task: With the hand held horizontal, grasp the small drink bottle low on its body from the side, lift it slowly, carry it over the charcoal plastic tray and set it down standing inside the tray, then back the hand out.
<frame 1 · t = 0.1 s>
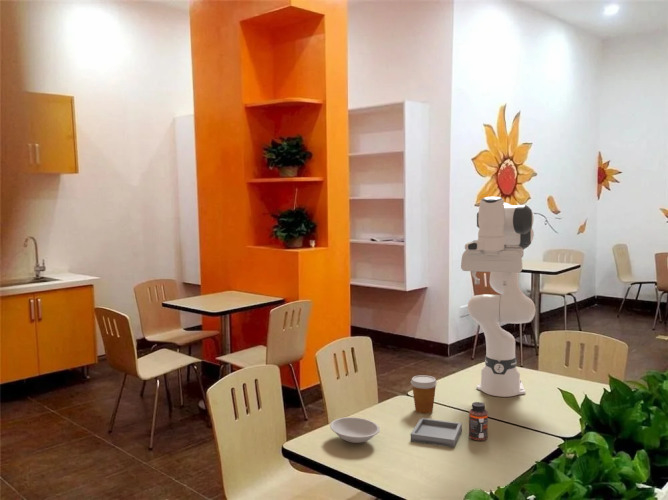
hand: (491, 284, 195), 48 cm above the table, tool pointing down, fingers open, 8 cm apart
disposable coffee cup: (424, 411, 209), on the table
supplement bottle: (478, 438, 185), on the table
tray: (436, 435, 187), on the table
dish: (354, 442, 185), on the table
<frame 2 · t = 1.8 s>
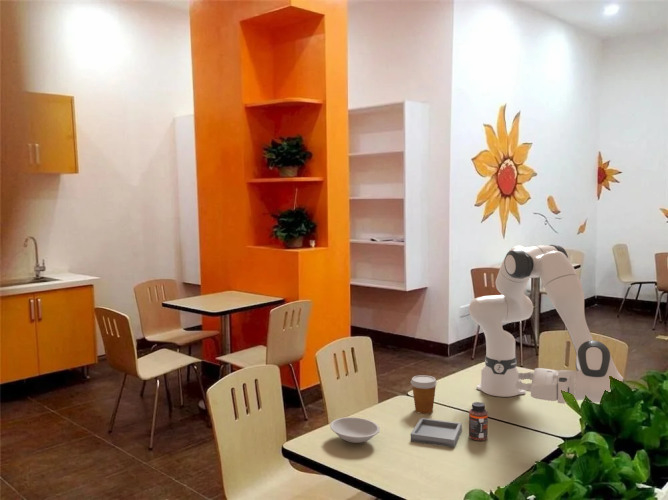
hand: (517, 380, 179), 20 cm above the table, tool horizontal, fingers open, 8 cm apart
nothing on the table moved.
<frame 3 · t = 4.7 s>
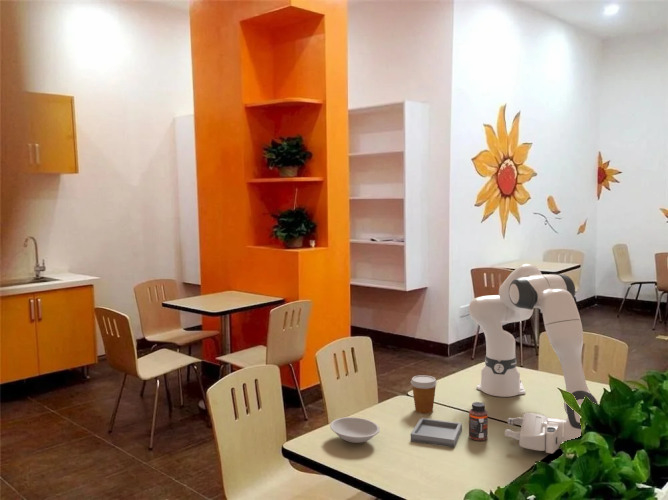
hand: (506, 426, 182), 5 cm above the table, tool horizontal, fingers open, 8 cm apart
nothing on the table moved.
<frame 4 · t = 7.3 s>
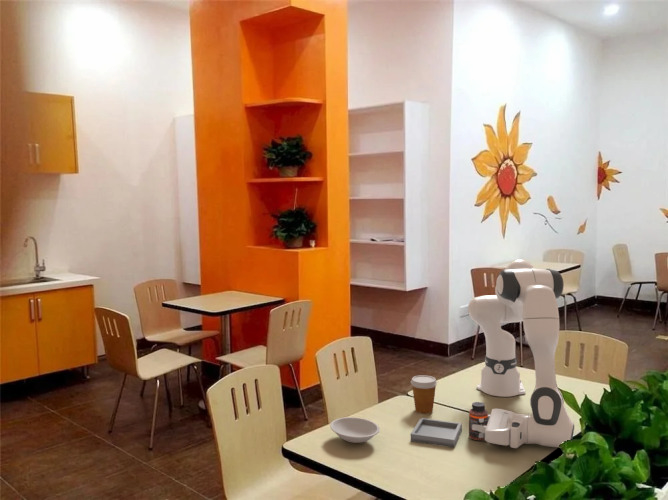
hand: (473, 422, 185), 5 cm above the table, tool horizontal, fingers closed on supplement bottle, 6 cm apart
supplement bottle: (478, 438, 185), on the table, touching gripper
everything else where it was.
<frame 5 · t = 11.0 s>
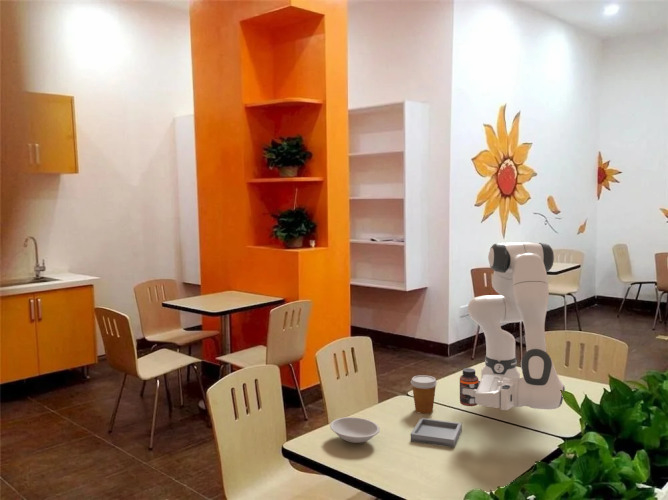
hand: (464, 386, 185), 17 cm above the table, tool horizontal, fingers closed on supplement bottle, 6 cm apart
supplement bottle: (469, 404, 185), point 11 cm above the table, touching gripper
everything else where it was.
when the fingers open (7 cm above the table, at t = 14.7 s): supplement bottle stays where it is, resting on tray.
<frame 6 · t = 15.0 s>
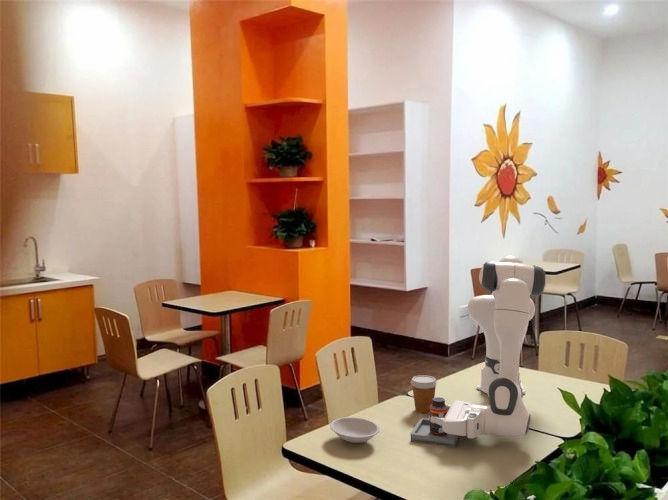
hand: (433, 413, 187), 7 cm above the table, tool horizontal, fingers open, 8 cm apart
supplement bottle: (438, 432, 188), point 1 cm above the table, touching tray
everything else where it was.
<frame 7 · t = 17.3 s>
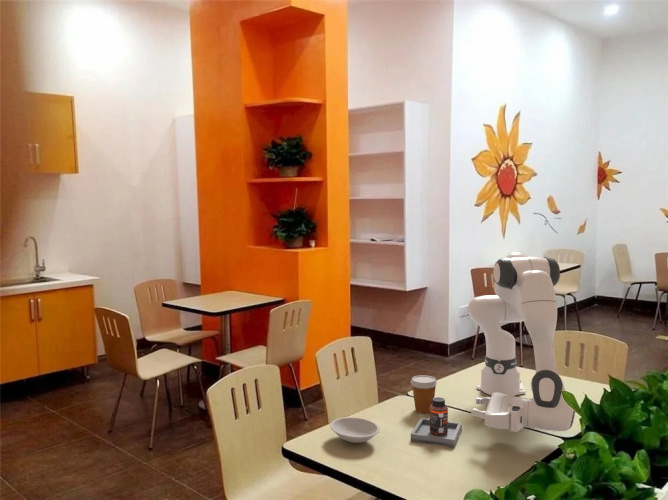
hand: (473, 405, 183), 11 cm above the table, tool horizontal, fingers open, 8 cm apart
nothing on the table moved.
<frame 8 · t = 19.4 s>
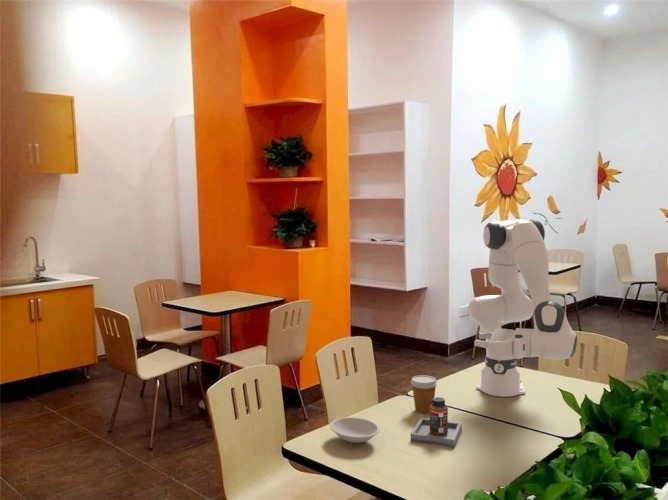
hand: (476, 339, 185), 32 cm above the table, tool horizontal, fingers open, 8 cm apart
nothing on the table moved.
at the end: supplement bottle inside the target area on the tray (0.8 cm from its centre), point 0.8 cm above the tray's base; supplement bottle tilted 0°; the gripper is holding nothing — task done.
